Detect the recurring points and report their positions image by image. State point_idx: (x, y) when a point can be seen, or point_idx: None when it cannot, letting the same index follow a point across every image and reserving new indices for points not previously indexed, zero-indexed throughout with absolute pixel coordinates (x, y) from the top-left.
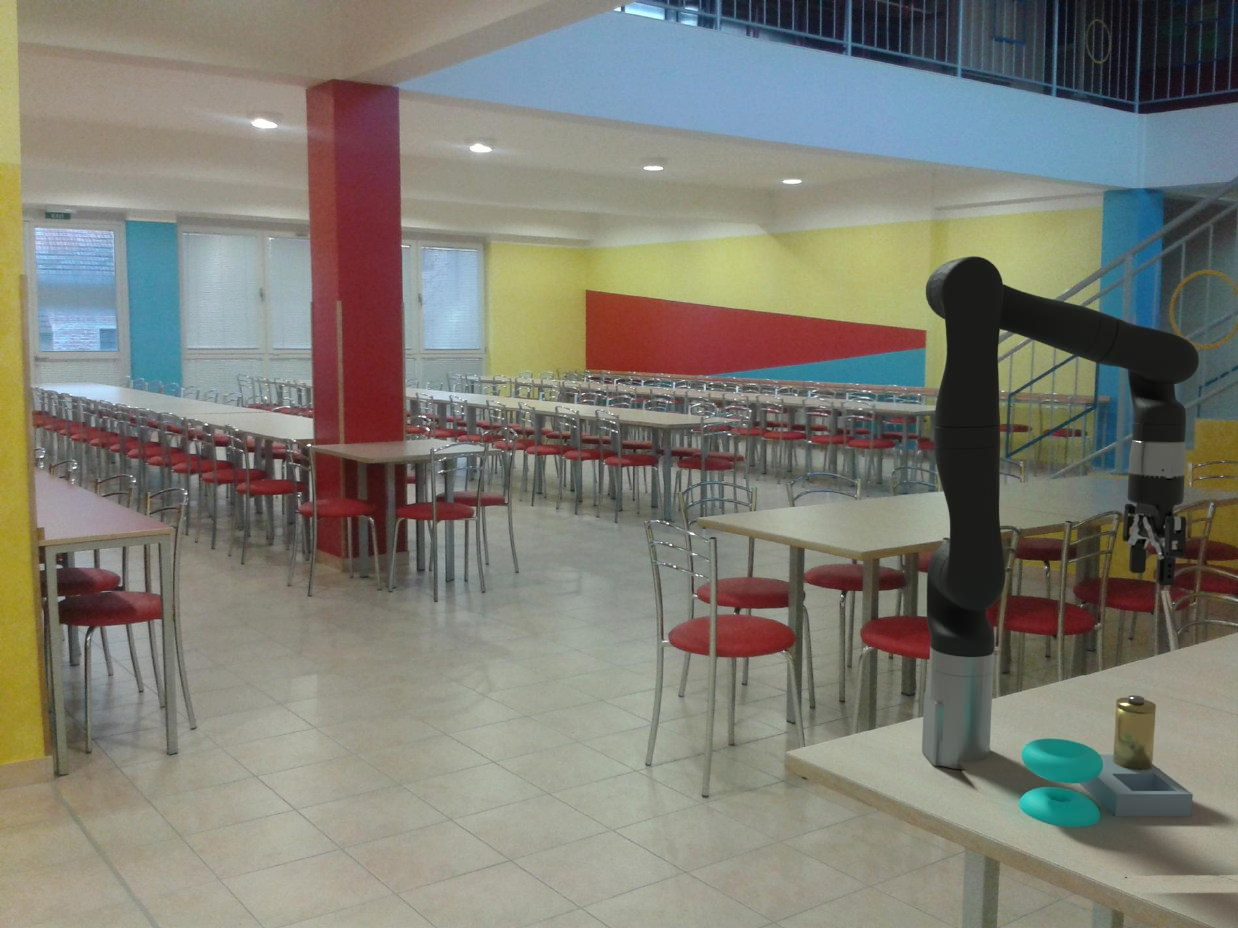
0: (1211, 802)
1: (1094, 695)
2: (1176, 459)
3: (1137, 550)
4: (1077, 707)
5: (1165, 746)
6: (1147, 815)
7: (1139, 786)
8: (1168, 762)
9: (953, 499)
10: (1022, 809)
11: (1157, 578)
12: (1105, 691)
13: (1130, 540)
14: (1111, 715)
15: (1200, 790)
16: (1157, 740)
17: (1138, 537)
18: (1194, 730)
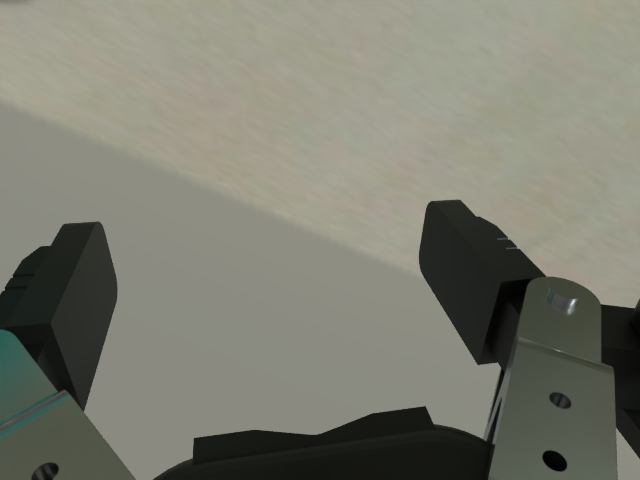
0: (20, 79)
1: (583, 120)
2: None
3: (487, 308)
4: (534, 54)
5: (313, 129)
6: None
7: None
8: (230, 96)
9: None
10: None
11: (78, 234)
12: (594, 150)
13: (568, 319)
14: (479, 103)
15: (84, 88)
16: (344, 129)
17: (502, 384)
18: (387, 212)
